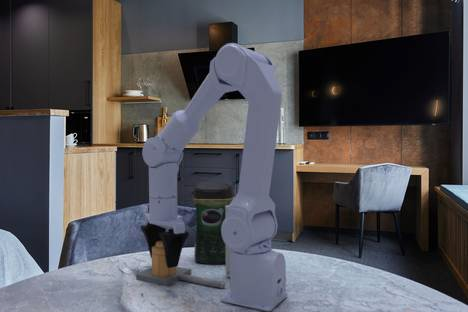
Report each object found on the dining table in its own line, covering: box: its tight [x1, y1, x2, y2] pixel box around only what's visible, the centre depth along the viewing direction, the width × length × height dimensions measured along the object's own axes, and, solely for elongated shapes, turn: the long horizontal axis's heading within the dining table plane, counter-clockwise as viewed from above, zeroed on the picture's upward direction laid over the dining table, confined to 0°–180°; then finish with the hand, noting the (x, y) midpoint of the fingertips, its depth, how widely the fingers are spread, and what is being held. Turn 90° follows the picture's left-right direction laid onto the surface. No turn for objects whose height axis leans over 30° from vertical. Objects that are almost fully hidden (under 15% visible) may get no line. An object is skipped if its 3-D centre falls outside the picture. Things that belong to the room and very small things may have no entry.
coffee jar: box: [192, 181, 235, 265], centre depth 93 cm, size 10×8×19 cm
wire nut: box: [151, 240, 177, 276], centre depth 82 cm, size 5×5×6 cm
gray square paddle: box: [135, 266, 226, 289], centre depth 79 cm, size 19×8×4 cm, turn 61°
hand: (164, 262), depth 82 cm, fingers open, 7 cm apart
